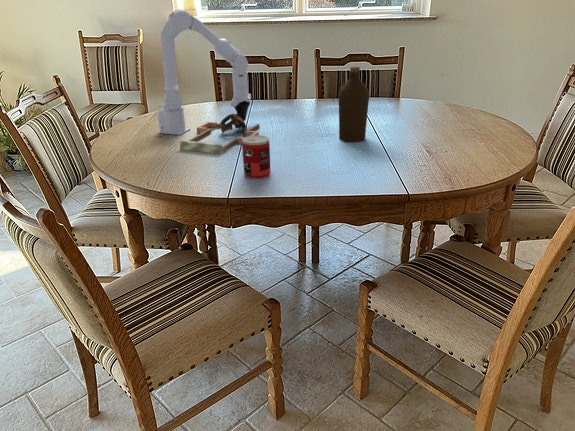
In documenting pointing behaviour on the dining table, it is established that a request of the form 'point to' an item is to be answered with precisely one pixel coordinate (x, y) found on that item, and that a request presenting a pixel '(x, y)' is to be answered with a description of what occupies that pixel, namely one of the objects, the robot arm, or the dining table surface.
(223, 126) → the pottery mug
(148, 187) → the dining table surface
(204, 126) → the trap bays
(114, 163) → the dining table surface
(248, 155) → the canned food
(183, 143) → the channel
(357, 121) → the olive oil
